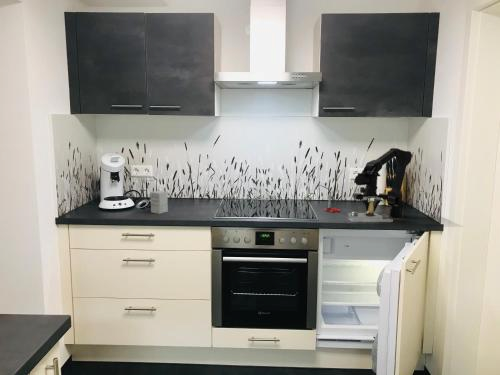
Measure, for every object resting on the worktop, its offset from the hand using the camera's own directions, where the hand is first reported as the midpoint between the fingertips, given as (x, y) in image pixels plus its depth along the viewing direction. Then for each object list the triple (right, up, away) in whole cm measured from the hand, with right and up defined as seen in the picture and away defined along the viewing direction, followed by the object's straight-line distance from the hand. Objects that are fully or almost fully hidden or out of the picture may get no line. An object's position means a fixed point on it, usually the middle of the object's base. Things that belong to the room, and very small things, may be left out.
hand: (370, 211), depth 231 cm
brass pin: (0, -3, +1) cm, 3 cm away
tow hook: (-16, -1, +25) cm, 30 cm away
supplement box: (-124, -2, +16) cm, 125 cm away
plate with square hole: (0, -5, +1) cm, 5 cm away
